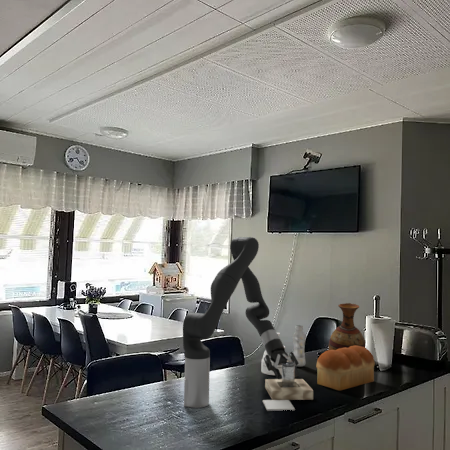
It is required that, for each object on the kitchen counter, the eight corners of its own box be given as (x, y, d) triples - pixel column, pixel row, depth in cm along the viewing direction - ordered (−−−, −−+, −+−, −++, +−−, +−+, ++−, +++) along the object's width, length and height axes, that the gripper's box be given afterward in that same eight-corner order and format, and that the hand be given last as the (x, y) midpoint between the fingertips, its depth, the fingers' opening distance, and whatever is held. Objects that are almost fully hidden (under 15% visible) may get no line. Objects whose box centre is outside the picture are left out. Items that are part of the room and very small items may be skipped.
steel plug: (281, 396, 181) (282, 365, 182) (278, 391, 188) (278, 361, 188) (298, 395, 182) (298, 365, 182) (294, 390, 188) (294, 361, 189)
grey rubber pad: (267, 410, 164) (267, 409, 164) (262, 401, 174) (262, 400, 174) (294, 410, 165) (294, 408, 165) (288, 401, 175) (288, 399, 175)
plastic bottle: (296, 364, 234) (296, 324, 235) (308, 366, 230) (308, 325, 231) (289, 366, 229) (289, 325, 230) (301, 368, 225) (301, 327, 226)
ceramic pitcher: (329, 362, 239) (329, 304, 240) (327, 354, 258) (327, 300, 260) (368, 364, 235) (368, 305, 237) (363, 356, 255) (363, 301, 257)
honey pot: (270, 367, 227) (270, 330, 229) (293, 371, 220) (293, 333, 221) (256, 372, 217) (256, 333, 218) (280, 376, 210) (280, 336, 211)
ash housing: (272, 399, 176) (272, 390, 176) (265, 387, 192) (265, 379, 192) (313, 399, 177) (313, 390, 178) (302, 387, 193) (302, 379, 193)
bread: (339, 391, 189) (339, 354, 190) (316, 384, 199) (316, 349, 200) (375, 381, 205) (374, 347, 206) (351, 375, 214) (351, 343, 215)
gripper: (262, 339, 190) (278, 374, 179) (289, 336, 197) (306, 369, 186) (254, 349, 194) (270, 384, 184) (282, 346, 201) (298, 380, 191)
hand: (288, 377), depth 185 cm, fingers open, 8 cm apart
